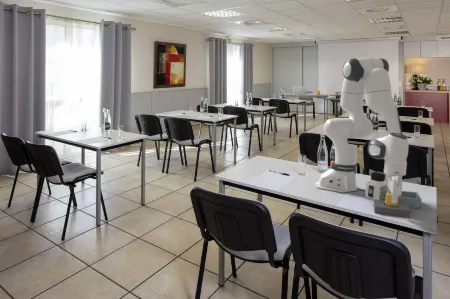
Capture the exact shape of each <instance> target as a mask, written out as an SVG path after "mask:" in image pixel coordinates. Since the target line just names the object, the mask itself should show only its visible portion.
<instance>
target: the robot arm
mask: <svg viewBox="0 0 450 299" xmlns="http://www.w3.org/2000/svg"><path fill="white" fill-rule="evenodd" d="M389 71H390V65H389V62H388V60H387V59H385V58H382V57H372V56H371V57H370V56H369V57H368V56H367V57H359V58H350V59H347V60H346V61H344V64H343V67H342V75H343V77H344V78H343V82H342V86H341V91H340V92H341V93H340V101H339V105H340V108H341V109H342V110H344V111H345V112H347V113H348V115H349V116H348V117H334V118H329V119H326V121H325V122H324V124H323V132H324V135H325V136H326V137H327V138H329V140H331V141H332V144H333V145H334V161H333V160H331V161H330V163H329V164H330V168H329V169H327V170H325V171H324V172H322V173H321V174H320V177H319V180H316V182H315V183H314V187H315V188H317V189H320V190H326V191H330V192H338V193H347V192H348V193H349V192H354V191H357V190H358V185H357V177H356V176H357V170H358V164H357V155H358V150H357V148H356V147H355V146H354V145H352V144H350V143H348V139H363V138H367V137H369V136H371V135H372V133H373V132H374V131H373V130H374V124H373V122H372V121H371V120H370V119H369V118H368V117H367V116H366V115H365V112H364V106H363V105H364V97H365V104H366V106H367V108H368V109H369V110H371V111H372V112H374V113H377V114H378V115H379V116H382V117H383V119H384V120H385V124H386V129H387V130H386V131H387V135H385V136H382V137H378V138H373V139H371V140H370V141H369V143H368V144H367V153H368V155H369V156H370V157H371V158H372V159H375V160H384V165H383V166H384V167H383V173H384V174H385V183H386V184H387V186H388V193H391V194H392V199H391V202H392V203H396V201H397V197H398V196H401V194H402V191H403V179H402V178H403V176H406V174H407V165H408V163H407V162H408V161H407V158H408V155H409V139H408V136H407V135H406V134H403V131H402V130H403V129H402V124H401V119H400V112H399V110H398V107H397V105H396V104H395V102H394V99H393V94H392V85H391V79H390V74H389Z"/></svg>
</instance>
